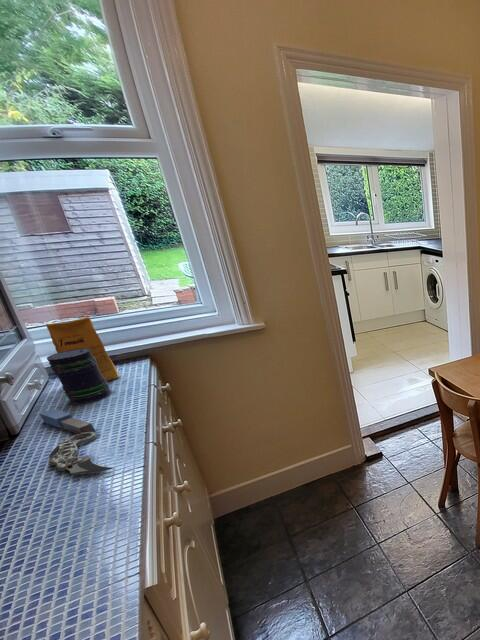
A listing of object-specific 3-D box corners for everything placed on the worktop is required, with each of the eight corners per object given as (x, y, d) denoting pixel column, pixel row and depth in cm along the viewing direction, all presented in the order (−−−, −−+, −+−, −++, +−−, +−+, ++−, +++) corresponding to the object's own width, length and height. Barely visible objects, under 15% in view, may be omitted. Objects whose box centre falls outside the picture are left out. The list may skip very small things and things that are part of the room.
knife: (114, 465, 93) (50, 485, 86) (116, 471, 93) (53, 491, 87) (99, 427, 110) (45, 441, 104) (101, 432, 111) (48, 446, 104)
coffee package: (70, 383, 143) (37, 323, 134) (116, 372, 152) (88, 314, 143) (73, 390, 137) (39, 327, 128) (121, 378, 146) (92, 318, 137)
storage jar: (73, 407, 126) (48, 361, 119) (67, 399, 131) (43, 355, 125) (115, 395, 133) (93, 351, 127) (108, 388, 138) (87, 346, 132)
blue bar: (75, 423, 116) (70, 414, 114) (61, 428, 113) (56, 419, 112) (58, 417, 119) (53, 408, 118) (44, 422, 117) (38, 413, 116)
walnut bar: (95, 431, 111) (91, 423, 110) (83, 436, 109) (79, 427, 108) (76, 425, 115) (72, 417, 114) (65, 429, 113) (60, 421, 112)
